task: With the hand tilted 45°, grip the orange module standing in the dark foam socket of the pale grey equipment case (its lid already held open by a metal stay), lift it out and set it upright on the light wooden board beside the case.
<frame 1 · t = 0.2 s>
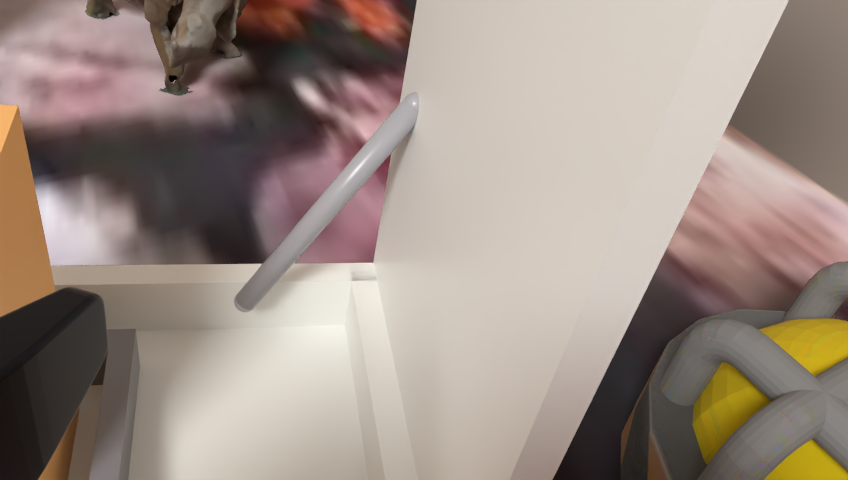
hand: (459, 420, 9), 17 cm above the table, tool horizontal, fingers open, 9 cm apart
rhinoceros figurine: (177, 64, 47), on the table
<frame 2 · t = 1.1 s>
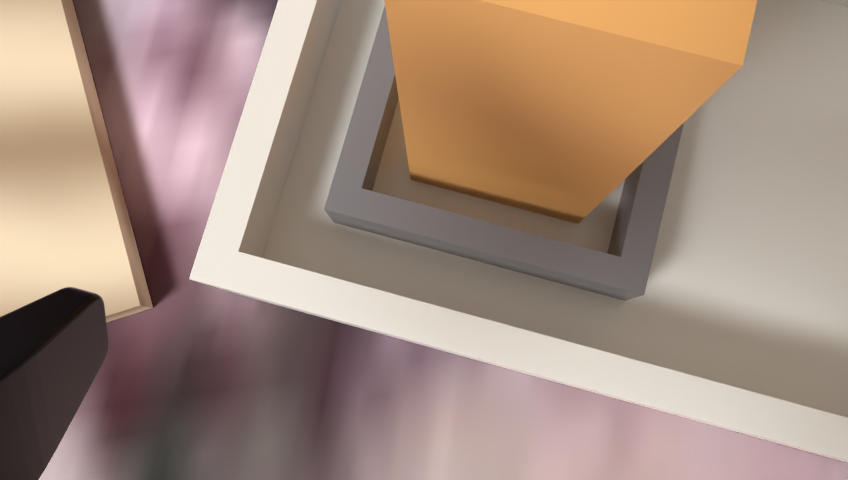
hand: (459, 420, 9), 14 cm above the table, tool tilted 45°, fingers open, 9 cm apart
equipment case: (511, 131, 24), on the table
orange module: (515, 121, 23), point 1 cm above the table, touching equipment case
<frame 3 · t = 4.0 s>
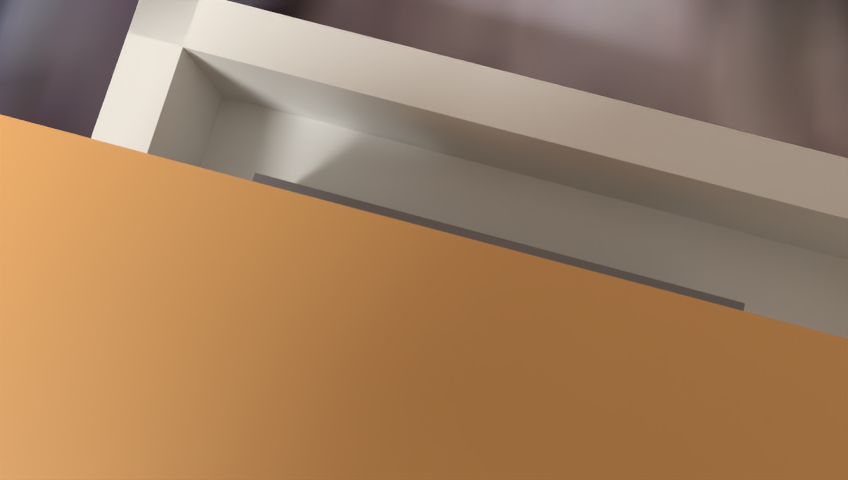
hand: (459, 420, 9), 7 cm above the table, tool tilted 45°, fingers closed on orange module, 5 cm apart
equipment case: (430, 464, 15), on the table
orange module: (429, 471, 14), point 1 cm above the table, touching equipment case, gripper
when the fingers open (8 cm above the table, at t = 8.9 s): orange module drops 1 cm, resting on wooden board.
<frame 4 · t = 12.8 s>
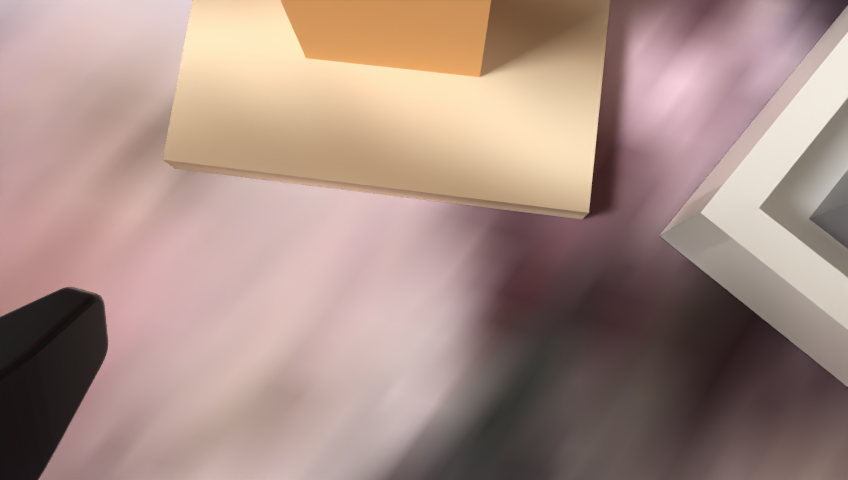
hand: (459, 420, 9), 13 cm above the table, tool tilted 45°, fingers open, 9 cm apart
wooden board: (404, 1, 23), on the table
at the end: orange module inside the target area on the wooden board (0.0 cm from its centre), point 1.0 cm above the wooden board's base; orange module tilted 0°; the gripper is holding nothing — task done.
